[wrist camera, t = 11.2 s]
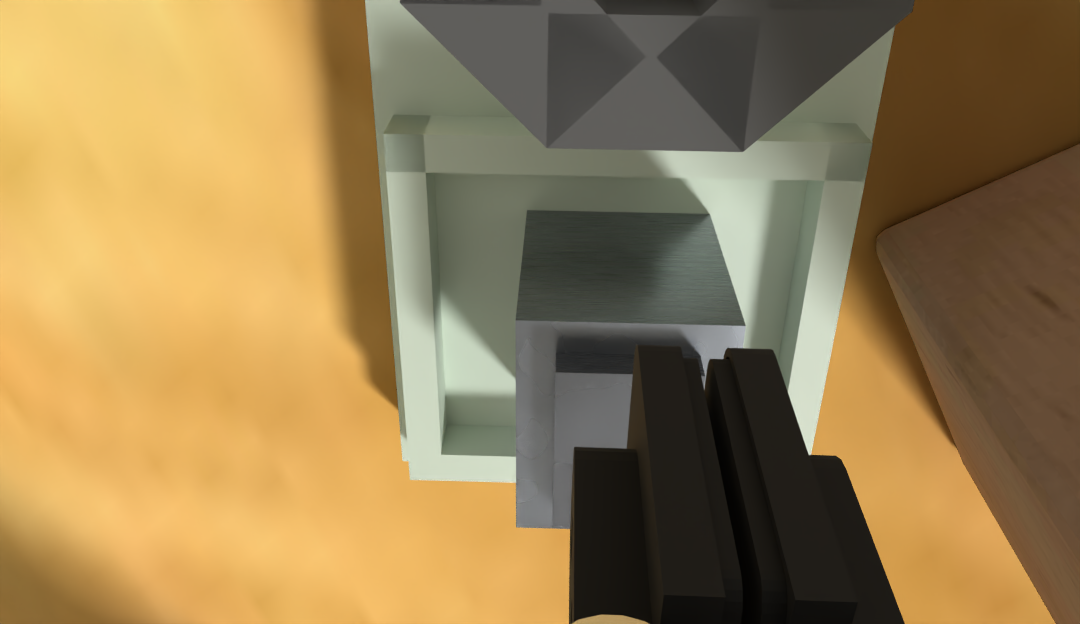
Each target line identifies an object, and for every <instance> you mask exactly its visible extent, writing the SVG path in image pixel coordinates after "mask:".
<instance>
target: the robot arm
mask: <svg viewBox="0 0 1080 624" xmlns="http://www.w3.org/2000/svg"><path fill="white" fill-rule="evenodd" d="M569 624H905V623H904V621H903V618H902V615H901V613H900V610H899V608H898V605H897V602H896V600H895V597H894V594H893V592H892V589H891V586H890V584H889V581H888V579H887V576H886V573H885V571H884V568H883V565H882V563H881V560H880V557H879V555H878V552H877V550H876V547H875V544H874V542H873V539H872V536H871V534H870V531H869V528H868V526H867V523H866V521H865V518H864V515H863V513H862V510H861V507H860V505H859V502H858V499H857V497H856V494H855V492H854V489H853V486H852V484H851V481H850V478H849V476H848V473H847V470H846V468H845V466H844V464H843V462H842V460H841V459H840V458H838V457H837V456H825V455H809V454H808V451H807V448H806V445H805V442H804V439H803V436H802V433H801V430H800V427H799V424H798V421H797V418H796V415H795V412H794V409H793V406H792V403H791V400H790V397H789V394H788V391H787V388H786V385H785V382H784V379H783V376H782V373H781V370H780V367H779V364H778V361H777V358H776V355H775V353H774V351H773V350H772V349H752V348H727V349H726V351H725V354H724V358H723V359H710V360H709V362H708V366H707V373H706V380H705V388H704V387H703V382H702V377H701V372H700V367H699V362H698V359H697V358H683V355H682V350H681V347H680V346H660V345H636V348H635V355H634V365H633V377H632V389H631V401H630V413H629V425H628V437H627V449H624V448H595V447H574V452H573V471H572V493H571V521H570V577H569Z"/></svg>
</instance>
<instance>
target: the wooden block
mask: <svg viewBox="0 0 1080 624" xmlns="http://www.w3.org/2000/svg"><path fill="white" fill-rule="evenodd" d="M876 253H877V255H878V257H879V260H880V262H881V265H882V267H883V270H884V272H885V274H886V277H887V279H888V282H889V284H890V287H891V289H892V291H893V294H894V296H895V299H896V301H897V304H898V306H899V308H900V311H901V313H902V316H903V318H904V321H905V323H906V325H907V328H908V330H909V333H910V335H911V338H912V340H913V342H914V345H915V347H916V350H917V352H918V355H919V357H920V359H921V362H922V364H923V367H924V369H925V372H926V374H927V376H928V379H929V381H930V384H931V386H932V389H933V391H934V393H935V396H936V398H937V401H938V403H939V406H940V408H941V410H942V413H943V415H944V418H945V420H946V423H947V425H948V427H949V430H950V432H951V435H952V437H953V440H954V442H955V444H956V447H957V449H958V452H959V454H960V457H961V459H962V461H963V464H964V465H965V467H966V469H967V471H968V472H969V474H970V476H971V478H972V479H973V481H974V483H975V484H976V486H977V488H978V490H979V491H980V493H981V495H982V497H983V498H984V500H985V502H986V503H987V505H988V507H989V509H990V510H991V512H992V514H993V516H994V517H995V519H996V521H997V522H998V524H999V526H1000V528H1001V529H1002V531H1003V533H1004V535H1005V536H1006V538H1007V540H1008V542H1009V543H1010V545H1011V547H1012V548H1013V550H1014V552H1015V554H1016V555H1017V557H1018V559H1019V561H1020V562H1021V564H1022V566H1023V567H1024V569H1025V571H1026V573H1027V574H1028V576H1029V578H1030V580H1031V581H1032V583H1033V585H1034V587H1035V588H1036V590H1037V592H1038V593H1039V595H1040V597H1041V599H1042V600H1043V602H1044V604H1045V606H1046V607H1047V609H1048V611H1049V612H1050V614H1051V616H1052V618H1053V619H1054V621H1055V623H1056V624H1080V144H1078V145H1075V146H1073V147H1071V148H1068V149H1066V150H1064V151H1062V152H1059V153H1057V154H1055V155H1053V156H1050V157H1048V158H1046V159H1044V160H1041V161H1039V162H1037V163H1034V164H1032V165H1030V166H1028V167H1025V168H1023V169H1021V170H1019V171H1016V172H1014V173H1012V174H1009V175H1007V176H1005V177H1003V178H1000V179H998V180H996V181H994V182H991V183H989V184H987V185H985V186H982V187H980V188H978V189H975V190H973V191H971V192H969V193H966V194H964V195H962V196H960V197H957V198H955V199H953V200H950V201H948V202H946V203H944V204H941V205H939V206H937V207H935V208H932V209H930V210H928V211H926V212H923V213H921V214H919V215H916V216H914V217H912V218H910V219H907V220H905V221H903V222H901V223H898V224H896V225H894V226H891V227H889V228H887V229H885V230H884V231H882V232H881V233H880V234H879V235H878V236H877V244H876Z"/></svg>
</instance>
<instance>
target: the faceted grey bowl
mask: <svg viewBox="0 0 1080 624" xmlns="http://www.w3.org/2000/svg"><path fill="white" fill-rule="evenodd" d="M914 1H915V0H400V4H401V5H402V6H403V7H404V8H405V9H406V10H407V11H408V12H409V13H410V14H411V15H412V16H413V17H414V18H415V19H416V20H418V21H419V22H420V23H421V24H422V25H423V26H424V27H425V28H426V29H427V30H428V31H429V32H430V33H431V34H432V35H433V36H434V37H435V38H436V39H437V40H438V41H439V42H440V43H441V44H442V45H443V46H444V47H445V48H446V49H447V50H448V51H449V52H450V53H451V54H452V55H453V56H454V57H455V58H456V59H457V60H458V61H459V62H460V63H461V64H462V65H463V66H464V67H465V68H466V69H467V70H468V71H469V72H470V73H471V74H472V75H473V76H474V77H475V78H476V79H477V80H478V81H479V82H480V83H481V84H482V85H483V86H484V87H485V88H486V89H487V90H488V91H489V92H490V93H491V94H492V95H493V96H494V97H495V98H496V99H497V100H498V101H499V102H500V103H501V104H502V105H503V106H504V107H505V108H506V109H507V110H508V111H510V112H511V113H512V114H513V115H514V116H515V117H516V118H517V119H518V120H519V121H520V122H521V123H522V124H523V125H524V126H525V127H526V128H527V129H528V130H529V131H530V132H531V133H532V134H533V135H534V136H535V137H536V138H537V139H538V140H539V141H540V142H541V143H542V144H543V145H544V146H545V147H546V148H557V149H608V150H659V151H710V152H744V151H745V150H746V149H747V148H749V147H750V146H751V145H752V144H753V143H755V142H756V141H757V140H758V139H759V138H761V137H762V136H763V135H764V134H765V133H767V132H768V131H769V130H770V129H771V128H773V127H774V126H775V125H776V124H777V123H779V122H780V121H781V120H782V119H783V118H785V117H786V116H787V115H788V114H789V113H791V112H792V111H793V110H794V109H795V108H797V107H798V106H799V105H800V104H801V103H803V102H804V101H805V100H806V99H808V98H809V97H810V96H811V95H812V94H814V93H815V92H816V91H817V90H818V89H820V88H821V87H822V86H823V85H824V84H826V83H827V82H828V81H829V80H830V79H832V78H833V77H834V76H835V75H836V74H838V73H839V72H840V71H841V70H842V69H844V68H845V67H846V66H847V65H848V64H850V63H851V62H852V61H853V60H854V59H856V58H857V57H858V56H859V55H860V54H862V53H863V52H864V51H865V50H866V49H868V48H869V47H870V46H871V45H872V44H874V43H875V42H876V41H877V40H878V39H880V38H881V37H882V36H883V35H884V34H886V33H887V32H888V31H889V30H891V29H892V28H893V27H894V26H895V25H897V24H898V23H899V22H900V21H901V20H903V19H904V18H905V17H906V16H907V15H909V14H910V13H911V12H912V10H913V5H914Z"/></svg>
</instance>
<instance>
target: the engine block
mask: <svg viewBox="0 0 1080 624" xmlns="http://www.w3.org/2000/svg"><path fill="white" fill-rule="evenodd" d="M745 329H746V325H745V321H744V318H743V315H742V312H741V309H740V306H739V303H738V300H737V297H736V294H735V290H734V287H733V284H732V281H731V278H730V275H729V272H728V269H727V266H726V263H725V259H724V256H723V253H722V250H721V247H720V244H719V241H718V238H717V235H716V231H715V228H714V225H713V222H712V219H711V216H710V214H690V213H643V212H596V211H550V210H527V215H526V224H525V234H524V244H523V253H522V263H521V272H520V282H519V291H518V301H517V310H516V320H515V338H516V527H523V528H558V529H570V521H571V493H572V471H573V452H574V447H595V448H624V449H627V437H628V425H629V413H630V401H631V389H632V377H633V365H634V355H635V348H636V345H660V346H680V347H681V350H682V355H683V358H697V359H698V362H699V367H700V372H701V377H702V382H703V387H704V388H705V380H706V373H707V366H708V362H709V360H710V359H723V358H724V354H725V351H726V349H727V348H743V343H744V336H745Z"/></svg>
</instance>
